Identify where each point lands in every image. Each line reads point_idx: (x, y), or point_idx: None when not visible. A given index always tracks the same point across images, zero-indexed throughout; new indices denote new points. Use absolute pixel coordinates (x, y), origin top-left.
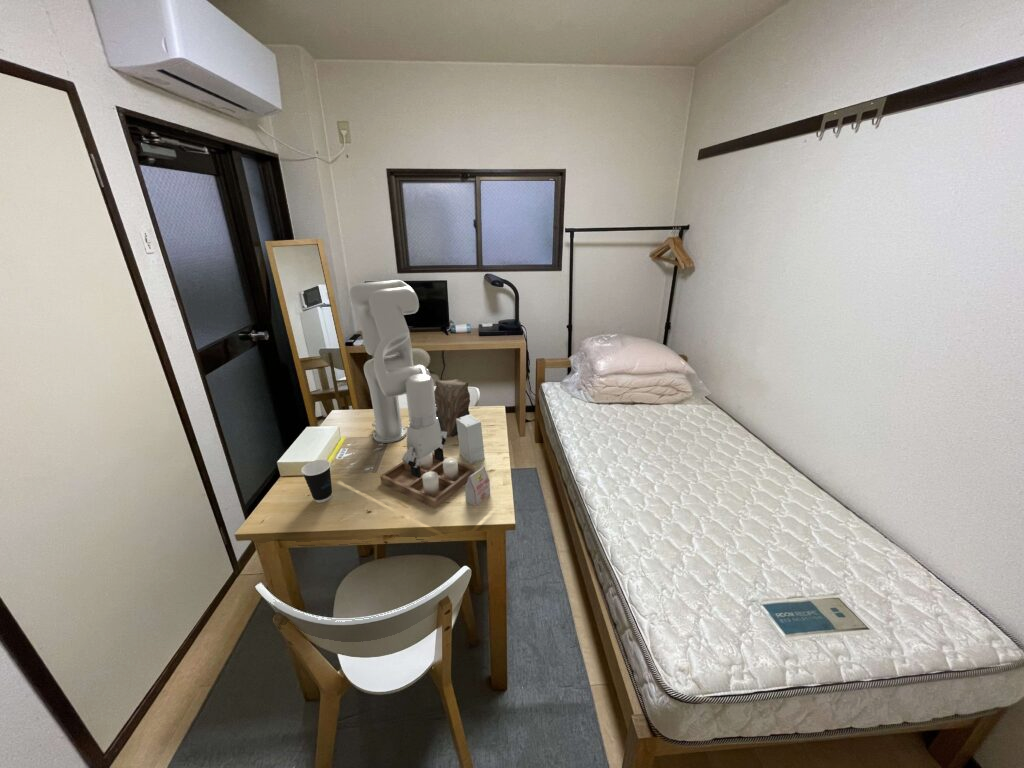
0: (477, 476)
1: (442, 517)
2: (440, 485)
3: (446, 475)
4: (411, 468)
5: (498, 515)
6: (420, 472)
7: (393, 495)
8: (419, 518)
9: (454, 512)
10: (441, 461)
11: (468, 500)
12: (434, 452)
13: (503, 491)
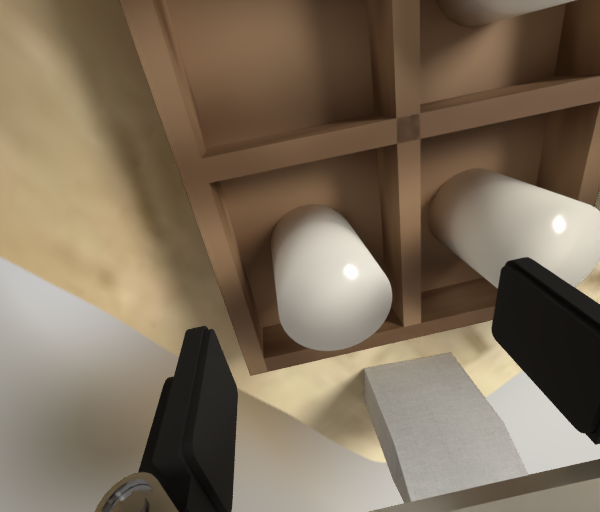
0: None
1: (249, 375)
2: (381, 225)
3: (448, 235)
4: (150, 457)
5: (382, 453)
6: (235, 433)
7: (127, 65)
8: (171, 330)
9: (299, 379)
10: (492, 330)
11: (371, 395)
12: (564, 313)
13: (490, 392)
